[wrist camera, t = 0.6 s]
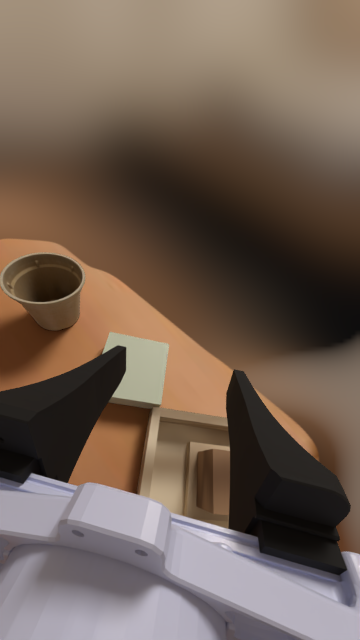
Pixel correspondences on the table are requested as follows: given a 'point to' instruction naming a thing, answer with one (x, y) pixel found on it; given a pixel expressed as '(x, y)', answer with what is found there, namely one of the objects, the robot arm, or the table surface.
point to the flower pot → (46, 287)
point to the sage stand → (140, 371)
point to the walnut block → (213, 481)
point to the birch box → (179, 459)
